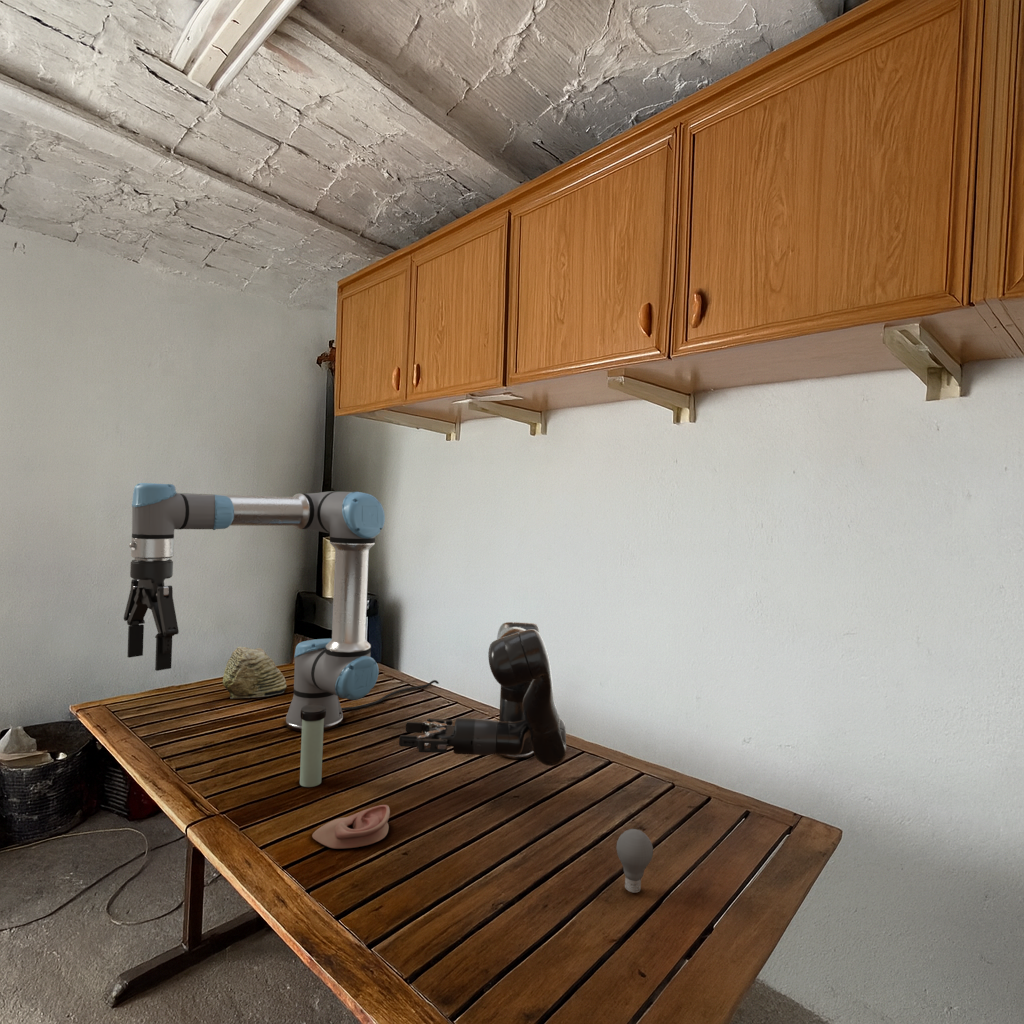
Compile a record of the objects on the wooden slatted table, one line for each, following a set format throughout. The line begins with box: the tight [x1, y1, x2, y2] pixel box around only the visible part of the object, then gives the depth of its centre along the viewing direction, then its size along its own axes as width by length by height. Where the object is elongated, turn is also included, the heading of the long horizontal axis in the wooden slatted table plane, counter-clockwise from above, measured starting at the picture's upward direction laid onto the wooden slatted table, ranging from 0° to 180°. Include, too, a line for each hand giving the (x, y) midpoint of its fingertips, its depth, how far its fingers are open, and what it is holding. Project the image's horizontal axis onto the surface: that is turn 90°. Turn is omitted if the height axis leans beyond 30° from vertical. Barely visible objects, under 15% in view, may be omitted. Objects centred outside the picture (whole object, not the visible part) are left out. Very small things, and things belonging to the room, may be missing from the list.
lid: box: [300, 705, 326, 721], centre depth 140 cm, size 5×5×2 cm
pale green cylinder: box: [299, 718, 324, 788], centre depth 140 cm, size 5×5×16 cm
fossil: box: [222, 646, 288, 699], centre depth 198 cm, size 9×18×15 cm, turn 132°
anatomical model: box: [311, 804, 391, 850], centre depth 119 cm, size 13×4×12 cm
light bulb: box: [615, 828, 654, 894], centre depth 106 cm, size 6×6×10 cm
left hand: (148, 662), depth 129 cm, fingers open, 13 cm apart
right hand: (402, 733), depth 140 cm, fingers open, 8 cm apart
